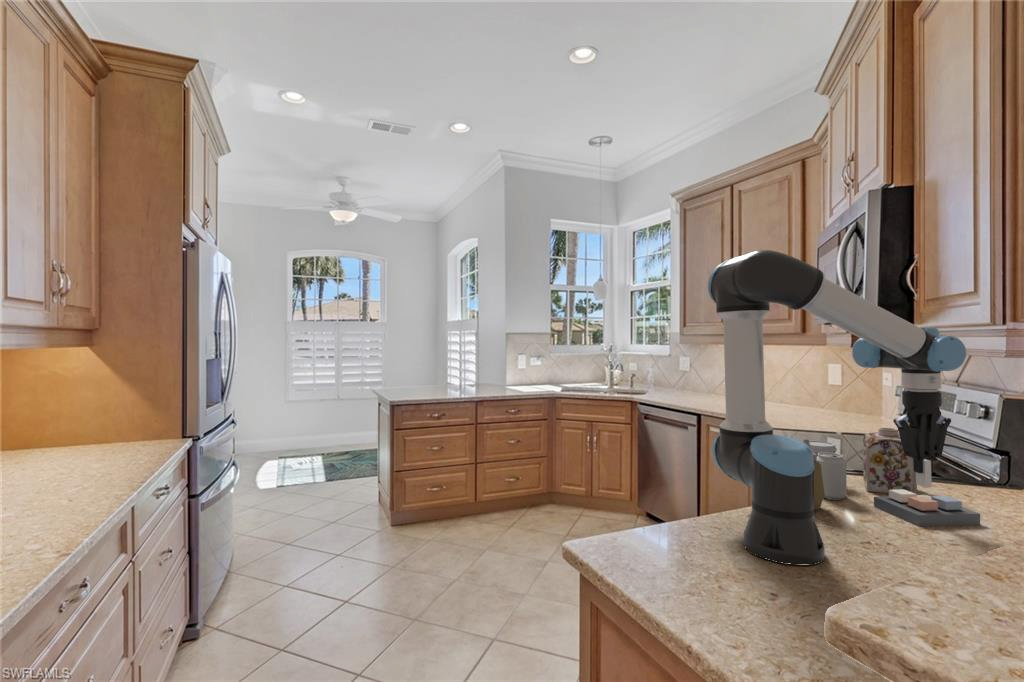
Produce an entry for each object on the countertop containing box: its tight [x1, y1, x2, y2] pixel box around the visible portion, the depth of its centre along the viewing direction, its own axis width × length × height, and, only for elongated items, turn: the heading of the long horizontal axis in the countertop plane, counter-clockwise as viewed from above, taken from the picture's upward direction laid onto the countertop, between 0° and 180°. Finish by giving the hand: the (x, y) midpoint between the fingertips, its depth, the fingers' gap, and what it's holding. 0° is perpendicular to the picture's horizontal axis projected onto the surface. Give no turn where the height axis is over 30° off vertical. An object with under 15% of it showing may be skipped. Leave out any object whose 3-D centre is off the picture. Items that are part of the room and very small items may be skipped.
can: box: [816, 452, 848, 501], centre depth 140 cm, size 8×8×12 cm
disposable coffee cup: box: [809, 440, 838, 456], centre depth 154 cm, size 10×10×12 cm
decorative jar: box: [862, 427, 918, 495], centre depth 146 cm, size 12×12×18 cm
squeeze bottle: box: [802, 438, 825, 511], centre depth 132 cm, size 8×8×18 cm
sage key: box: [917, 494, 932, 499], centre depth 128 cm, size 4×4×3 cm
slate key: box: [930, 495, 963, 512], centre depth 122 cm, size 4×4×3 cm
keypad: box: [873, 494, 981, 527], centre depth 124 cm, size 15×14×3 cm
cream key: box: [888, 489, 918, 504], centre depth 127 cm, size 4×4×3 cm
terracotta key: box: [908, 497, 938, 513], centre depth 121 cm, size 4×4×3 cm
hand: (923, 485), depth 121 cm, fingers closed
